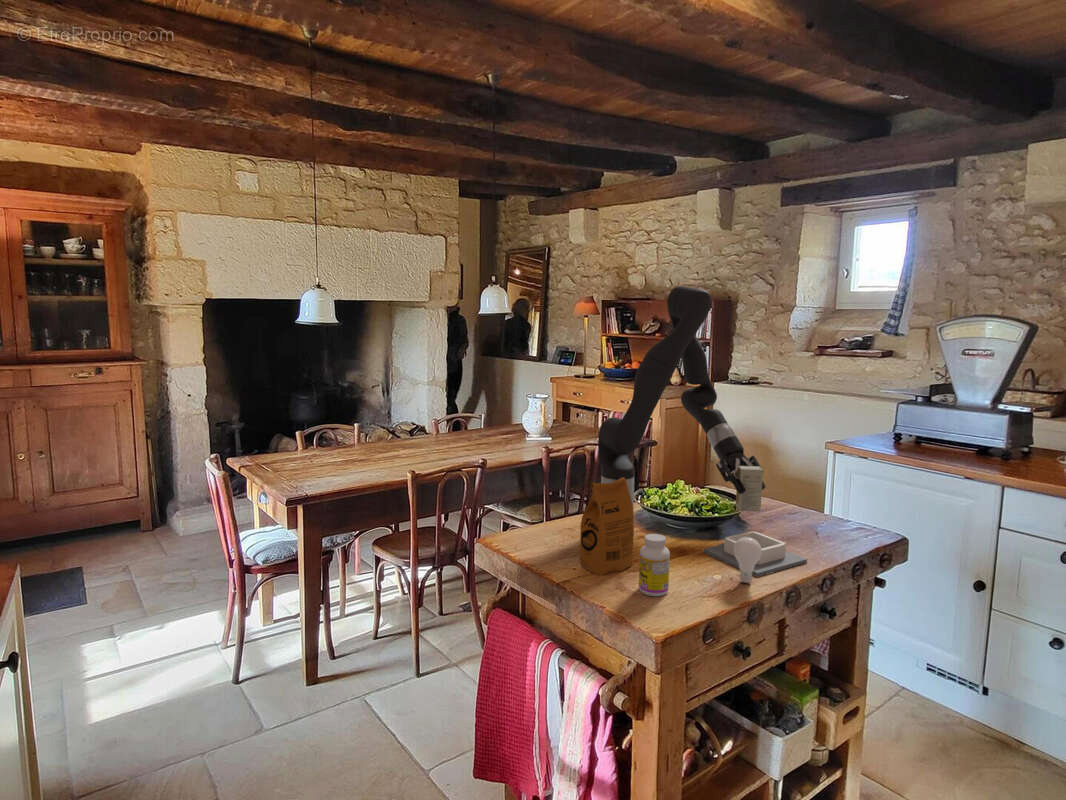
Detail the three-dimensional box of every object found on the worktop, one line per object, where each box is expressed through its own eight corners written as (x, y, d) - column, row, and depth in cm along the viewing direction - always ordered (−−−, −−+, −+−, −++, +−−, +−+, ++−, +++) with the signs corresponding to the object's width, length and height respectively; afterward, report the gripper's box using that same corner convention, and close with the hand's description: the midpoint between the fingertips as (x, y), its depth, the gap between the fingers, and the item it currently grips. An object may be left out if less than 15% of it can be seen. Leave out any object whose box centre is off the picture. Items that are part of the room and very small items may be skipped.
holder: (757, 576, 158) (758, 559, 157) (703, 552, 173) (704, 536, 172) (806, 562, 166) (808, 545, 166) (751, 540, 182) (752, 525, 181)
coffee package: (573, 564, 165) (575, 479, 161) (613, 555, 171) (615, 472, 168) (597, 578, 156) (599, 489, 153) (638, 568, 163) (640, 481, 159)
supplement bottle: (635, 585, 152) (637, 532, 151) (663, 584, 153) (665, 531, 151) (642, 598, 146) (644, 542, 144) (672, 597, 146) (674, 542, 145)
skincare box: (756, 507, 188) (760, 466, 186) (760, 512, 183) (764, 469, 182) (734, 506, 188) (737, 464, 187) (737, 511, 184) (740, 468, 182)
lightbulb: (745, 590, 150) (748, 544, 148) (725, 580, 156) (728, 535, 154) (765, 585, 153) (768, 540, 151) (745, 575, 158) (748, 531, 157)
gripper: (714, 436, 186) (743, 486, 178) (749, 433, 193) (778, 481, 185) (699, 451, 191) (726, 500, 183) (734, 447, 198) (762, 494, 190)
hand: (752, 490), depth 184 cm, fingers closed on skincare box, 7 cm apart
